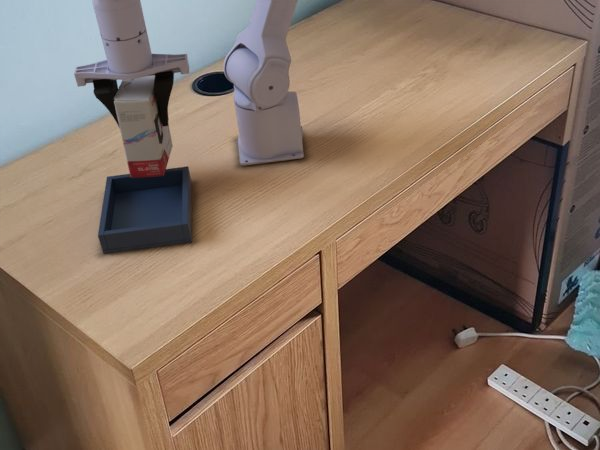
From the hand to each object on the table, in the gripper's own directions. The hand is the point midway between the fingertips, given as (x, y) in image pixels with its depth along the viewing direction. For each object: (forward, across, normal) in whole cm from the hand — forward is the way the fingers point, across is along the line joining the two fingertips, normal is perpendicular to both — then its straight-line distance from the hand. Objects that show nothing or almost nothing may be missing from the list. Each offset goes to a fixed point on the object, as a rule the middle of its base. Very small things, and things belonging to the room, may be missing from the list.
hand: (145, 125), depth 107 cm
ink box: (+6, 0, 0) cm, 6 cm away
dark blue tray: (+10, +1, +7) cm, 13 cm away
